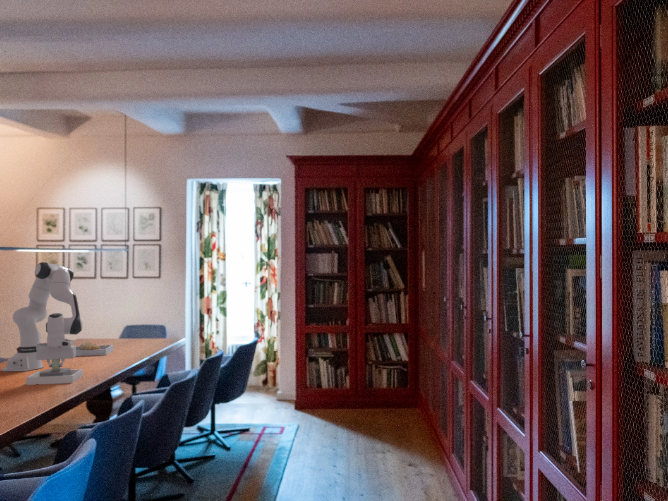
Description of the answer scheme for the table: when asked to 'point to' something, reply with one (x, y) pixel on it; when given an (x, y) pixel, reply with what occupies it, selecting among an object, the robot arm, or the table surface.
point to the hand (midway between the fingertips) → (55, 367)
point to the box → (54, 376)
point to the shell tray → (94, 351)
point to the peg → (55, 365)
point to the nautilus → (89, 346)
